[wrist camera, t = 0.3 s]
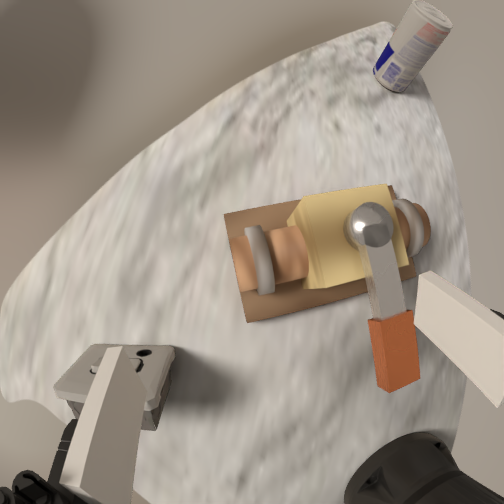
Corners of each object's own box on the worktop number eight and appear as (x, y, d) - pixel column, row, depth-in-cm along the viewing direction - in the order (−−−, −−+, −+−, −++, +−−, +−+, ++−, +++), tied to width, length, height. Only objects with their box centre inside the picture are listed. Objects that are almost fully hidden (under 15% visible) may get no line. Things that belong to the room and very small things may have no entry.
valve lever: (406, 371, 18) (422, 377, 15) (373, 385, 17) (386, 394, 15) (374, 206, 19) (388, 197, 17) (338, 213, 19) (349, 204, 17)
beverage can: (411, 89, 32) (460, 27, 18) (390, 97, 32) (442, 28, 17) (386, 63, 33) (427, -2, 18) (364, 70, 32) (405, -3, 17)
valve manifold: (406, 277, 28) (459, 270, 19) (246, 320, 27) (251, 334, 18) (383, 191, 29) (427, 158, 21) (224, 219, 28) (219, 186, 19)
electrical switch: (176, 344, 26) (149, 379, 17) (182, 391, 26) (162, 440, 17) (93, 342, 26) (44, 368, 16) (101, 386, 25) (60, 423, 16)
